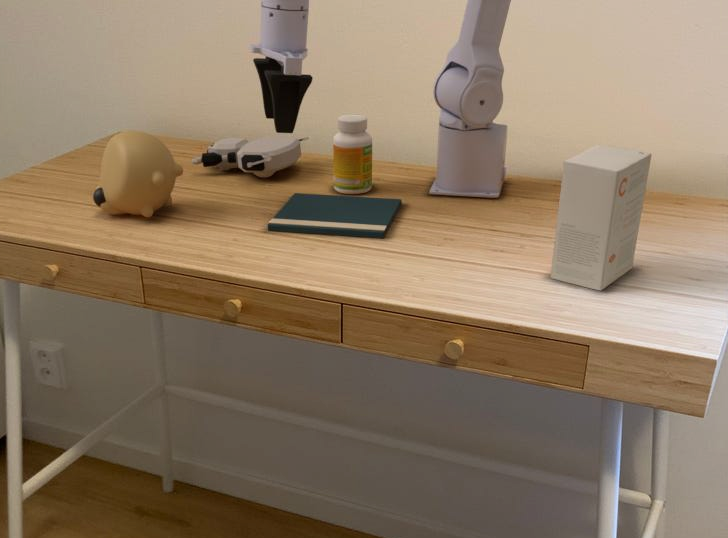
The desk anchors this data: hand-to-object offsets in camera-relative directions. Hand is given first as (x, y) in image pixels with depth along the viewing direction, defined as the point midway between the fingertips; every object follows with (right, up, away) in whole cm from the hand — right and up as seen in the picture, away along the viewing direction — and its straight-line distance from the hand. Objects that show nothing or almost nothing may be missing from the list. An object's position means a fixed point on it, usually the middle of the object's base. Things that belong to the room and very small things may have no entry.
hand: (278, 125), depth 118 cm
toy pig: (-19, -10, +6) cm, 22 cm away
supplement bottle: (+10, -5, +13) cm, 17 cm away
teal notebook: (+7, -11, +3) cm, 14 cm away
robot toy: (-5, +1, +21) cm, 22 cm away
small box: (+36, -22, -14) cm, 44 cm away
